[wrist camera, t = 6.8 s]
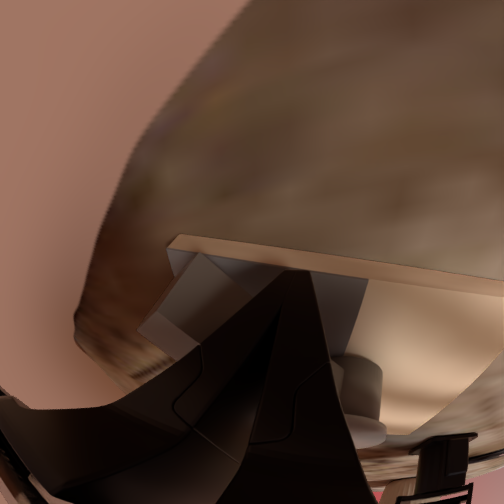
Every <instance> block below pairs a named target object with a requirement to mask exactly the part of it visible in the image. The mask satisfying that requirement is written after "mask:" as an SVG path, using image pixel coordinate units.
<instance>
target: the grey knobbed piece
mask: <svg viewBox="0 0 504 504" xmlns="http://www.w3.org/2000/svg"><path fill="white" fill-rule="evenodd" d="M252 298H253V297H252V296H251V295H250V294H249V293H248V292H246V291H245V290H244V289H243V288H242V287H240V286H239V285H238V284H237V283H236V282H235V281H233V280H232V279H231V278H230V277H229V276H227V275H226V274H225V273H224V272H223V271H222V270H220V269H219V268H218V267H217V266H216V265H215V264H213V263H212V262H211V261H210V260H209V259H208V258H206V257H205V256H204V255H203V254H202V253H201V252H199V253H198V254H197V255H196V256H195V257H194V258H193V259H192V260H191V261H190V262H189V263H188V264H187V265H186V266H185V267H184V268H183V269H182V270H181V271H180V272H179V273H178V274H177V275H176V276H175V277H174V279H173V280H172V281H171V283H170V284H169V285H168V287H167V288H166V289H165V291H164V292H163V293H162V295H161V296H160V298H159V299H158V300H157V302H156V303H155V304H154V306H153V307H152V309H151V310H150V311H149V313H148V314H147V315H146V317H145V318H144V320H143V321H142V322H141V324H140V325H139V327H138V328H137V330H136V331H137V332H139V333H140V334H141V335H142V336H144V337H145V338H146V339H147V340H149V341H150V342H151V343H153V344H154V345H155V346H157V347H158V348H159V349H161V350H162V351H163V352H165V353H166V354H167V355H169V356H170V357H172V358H173V359H174V360H176V361H178V360H180V359H181V358H182V357H184V356H185V355H186V354H187V353H189V352H190V351H191V350H192V349H193V348H195V347H196V346H197V345H200V343H201V342H202V341H203V340H204V339H206V338H207V337H208V336H209V335H210V334H211V333H213V332H214V331H215V330H216V329H217V328H218V327H220V326H221V325H222V324H223V323H224V322H225V321H227V320H228V319H229V318H230V317H231V316H232V315H234V314H235V313H236V312H237V311H238V310H239V309H241V308H242V307H243V306H244V305H245V304H246V303H247V302H249V301H250V300H251V299H252ZM330 360H331V364H332V369H333V374H334V379H335V383H336V387H337V392H338V396H339V399H340V402H341V405H342V409H343V412H344V415H345V418H346V421H347V424H348V427H349V430H350V433H351V436H352V439H353V442H354V445H355V448H356V449H362V448H368V447H372V446H375V445H378V444H380V443H382V442H384V441H385V439H386V434H387V427H386V425H385V424H383V423H382V422H380V421H379V417H380V408H381V396H382V381H383V372H382V369H381V368H380V367H379V366H378V365H377V364H376V363H374V362H372V361H370V360H367V359H364V358H359V357H351V356H338V357H331V358H330Z"/></svg>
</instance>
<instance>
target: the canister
mask: <svg viewBox="0 0 504 504" xmlns="http://www.w3.org/2000/svg"><path fill="white" fill-rule="evenodd" d="M415 482H416V477H415V478H408V479H401V480H397V481H393V482H391V483H389V484H388V485H387V486H386V488H385V489H384V491H383V494H382V496H381V499H380V501H379V504H395V501H396V497H398V496H410V495H413V494H414V488H415ZM439 500H440V497H436V498H430V499H424V500H417V501H410V504H420V503H427V502H434V501H439Z"/></svg>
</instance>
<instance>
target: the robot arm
mask: <svg viewBox="0 0 504 504" xmlns="http://www.w3.org/2000/svg"><path fill="white" fill-rule="evenodd" d="M477 437H478V433H475V434H467V435H458V436H447V437H435V438H432V439H430V440H429V441H427V442H425V443H423V444H422V445H420V446H418V447H416V448H415V449H413V450H411V451H409V454H408V455H419V460H418V468H417V476H416V482H415V488H414V494H413V495H410V496H398V497H396V501H395V504H410V501H417V500H424V499H430V498H436V497H442V496H447V495H451V494H456V493H460V492H464V491H468V494H467V495H463V496H459V497H454V498H450V499H445V500H439V501H434V502H427V503H420V504H461V503H464V502H466V504H471V499H472V491H473V483H469V484H468V485H465V479H466V472H467V469H468V453H469V442H470V441H472V440H474V439H475V438H477ZM463 485H464V486H463ZM0 492H1V493H2V495H3V496H4V498H5V500H6V501H7V502H8V504H378V502H377V500H376V498H375V496H374V494H373V492H372V490H371V488H370V486H369V484H368V481H367V479H366V476H365V474H364V471H363V468H362V466H361V463H360V460H359V457H358V454H357V451H356V448H355V445H354V442H353V439H352V436H351V433H350V430H349V427H348V424H347V421H346V418H345V415H344V412H343V409H342V405H341V402H340V399H339V396H338V392H337V387H336V383H335V379H334V374H333V369H332V364H331V360H330V355H329V350H328V345H327V340H326V336H325V331H324V327H323V322H322V318H321V313H320V309H319V305H318V301H317V296H316V292H315V288H314V284H313V280H312V276H311V272H310V271H309V270H289V269H286V270H283V271H282V272H281V273H280V274H279V275H278V276H277V277H276V278H274V279H273V280H272V281H271V282H270V283H269V284H268V285H267V286H266V287H264V288H263V289H262V290H261V291H260V292H259V293H258V294H257V295H255V296H254V297H253V298H252V299H251V300H250V301H249V302H247V303H246V304H245V305H244V306H243V307H242V308H241V309H239V310H238V311H237V312H236V313H235V314H234V315H232V316H231V317H230V318H229V319H228V320H227V321H225V322H224V323H223V324H222V325H221V326H220V327H218V328H217V329H216V330H215V331H214V332H213V333H211V334H210V335H209V336H208V337H207V338H206V339H204V340H203V341H202V342H201V343H200V345H197V346H196V347H195V348H193V349H192V350H191V351H190V352H189V353H187V354H186V355H185V356H184V357H182V358H181V359H180V360H178V361H177V362H176V363H175V364H173V365H172V366H170V367H169V368H168V369H166V370H165V371H163V372H162V373H160V374H159V375H157V376H156V377H154V378H153V379H151V380H150V381H148V382H147V383H145V384H143V385H142V386H140V387H139V388H137V389H136V390H134V391H132V392H131V393H129V394H128V395H126V396H125V397H123V398H121V399H119V400H117V401H115V402H113V403H111V404H108V405H105V406H100V407H93V408H92V407H91V408H77V409H52V410H51V409H50V410H36V409H30V408H29V407H28V406H27V405H25V404H24V403H23V402H21V401H20V400H19V399H17V398H15V397H14V396H11V395H10V394H9V393H7V392H6V391H5V390H4V389H3V388H2V387H1V386H0Z"/></svg>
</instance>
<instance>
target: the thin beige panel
mask: <svg viewBox="0 0 504 504" xmlns="http://www.w3.org/2000/svg"><path fill="white" fill-rule="evenodd" d="M166 251H167V254H168V258H169V261H170V265H171V268H172V271H173V275H174V277H175V276H176V275H177V274H178V273H179V272H180V271H181V270H182V269H183V268H184V267H185V266H186V265H187V264H188V263H189V262H190V261H191V260H192V259H193V258H194V257H195V256H196V255H197V254H198V253H199V252H201V253H202V254H203V255H204V256H205V257H206V258H208V259H209V260H210V261H211V262H212V263H213V264H215V265H216V266H217V267H218V268H219V269H220V270H222V271H223V272H224V273H225V274H226V275H227V276H229V277H230V278H231V279H232V280H233V281H235V282H236V283H237V284H238V285H239V286H240V287H242V288H243V289H244V290H245V291H246V292H248V293H249V294H250V295H251V296H252V297H254V296H255V295H257V294H258V293H259V292H260V291H261V290H262V289H263V288H264V287H266V286H267V285H268V284H269V283H270V282H271V281H272V280H273V279H274V278H276V277H277V276H278V275H279V274H280V273H281V272H282V271H283V270H286V269H289V270H309V271H310V272H311V276H312V280H313V284H314V288H315V292H316V296H317V301H318V305H319V309H320V313H321V318H322V322H323V327H324V331H325V336H326V340H327V345H328V350H329V355H330V358H331V357H338V356H351V357H359V358H364V359H367V360H370V361H372V362H374V363H376V364H377V365H378V366H379V367H380V368H381V369H382V372H383V381H382V396H381V408H380V417H379V421H380V422H382V423H383V424H385V425H386V427H387V434H400V435H409V434H410V433H411V432H413V431H414V430H416V429H417V428H419V427H420V426H421V425H423V424H424V423H425V422H427V421H428V420H429V419H431V418H432V417H433V416H435V415H436V414H437V413H438V412H440V411H441V410H442V409H443V408H444V407H446V406H447V405H448V404H449V403H450V402H452V401H453V400H454V399H455V398H456V397H457V396H458V395H460V394H461V393H462V392H463V391H464V390H465V389H466V388H467V387H468V386H469V385H470V384H471V383H472V382H473V381H474V380H475V379H476V378H477V377H478V376H479V375H480V374H481V373H482V372H483V371H484V370H485V369H486V368H487V367H488V366H489V365H490V364H491V363H492V362H493V361H494V359H495V358H496V357H497V356H498V355H499V354H500V353H501V351H502V350H503V349H504V281H498V280H492V279H485V278H479V277H473V276H467V275H460V274H454V273H448V272H441V271H435V270H429V269H422V268H416V267H409V266H403V265H396V264H389V263H383V262H376V261H369V260H363V259H356V258H349V257H342V256H336V255H329V254H322V253H315V252H308V251H301V250H294V249H287V248H280V247H273V246H266V245H258V244H251V243H244V242H237V241H229V240H222V239H215V238H207V237H200V236H193V235H185V234H179V235H178V236H177V237H176V238H175V239H174V241H173V242H172V243H171V244H170V245H169V246H168V247H167V248H166Z"/></svg>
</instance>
